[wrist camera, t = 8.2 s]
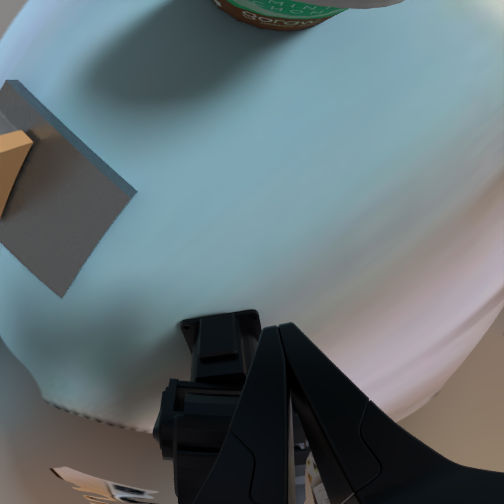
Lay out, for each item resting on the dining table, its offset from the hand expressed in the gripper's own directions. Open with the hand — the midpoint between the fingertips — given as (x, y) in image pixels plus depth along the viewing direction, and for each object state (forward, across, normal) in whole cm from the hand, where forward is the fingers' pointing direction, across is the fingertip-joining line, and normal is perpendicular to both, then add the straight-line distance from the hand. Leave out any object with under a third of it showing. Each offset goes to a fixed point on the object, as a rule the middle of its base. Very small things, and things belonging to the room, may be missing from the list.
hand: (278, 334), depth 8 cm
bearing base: (+12, +15, -4) cm, 20 cm away
